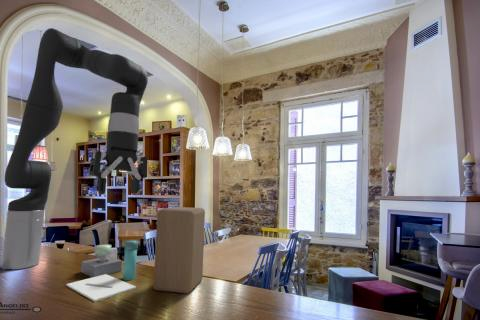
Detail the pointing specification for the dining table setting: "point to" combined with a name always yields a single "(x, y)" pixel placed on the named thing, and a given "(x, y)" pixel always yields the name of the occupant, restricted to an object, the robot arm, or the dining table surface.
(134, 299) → the dining table surface
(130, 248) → the marker
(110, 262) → the button housing
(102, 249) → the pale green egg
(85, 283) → the pad
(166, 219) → the wooden block
